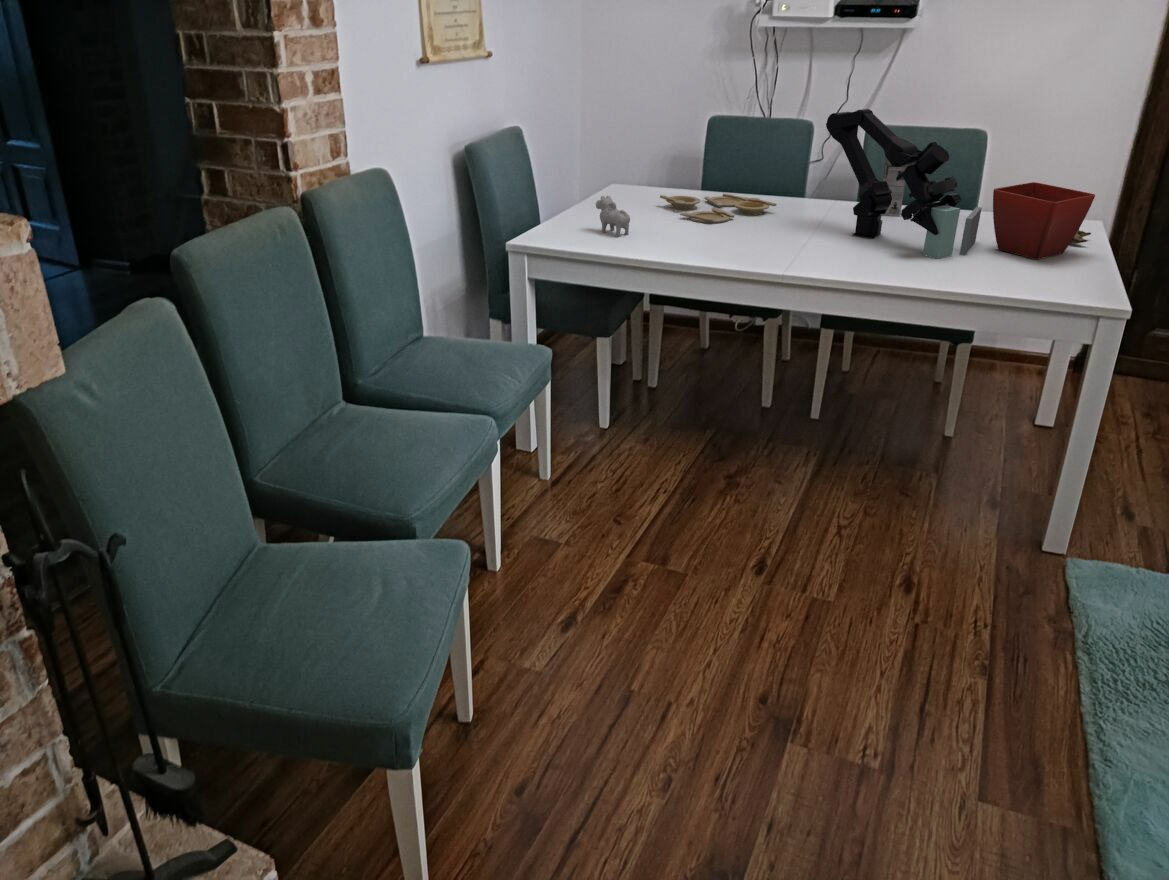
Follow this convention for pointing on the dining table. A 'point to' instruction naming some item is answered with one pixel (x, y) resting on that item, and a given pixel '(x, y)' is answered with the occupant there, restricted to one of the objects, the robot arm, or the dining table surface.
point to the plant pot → (1038, 218)
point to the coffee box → (894, 189)
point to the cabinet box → (942, 232)
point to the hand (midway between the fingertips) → (945, 232)
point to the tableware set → (716, 215)
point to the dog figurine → (612, 216)
